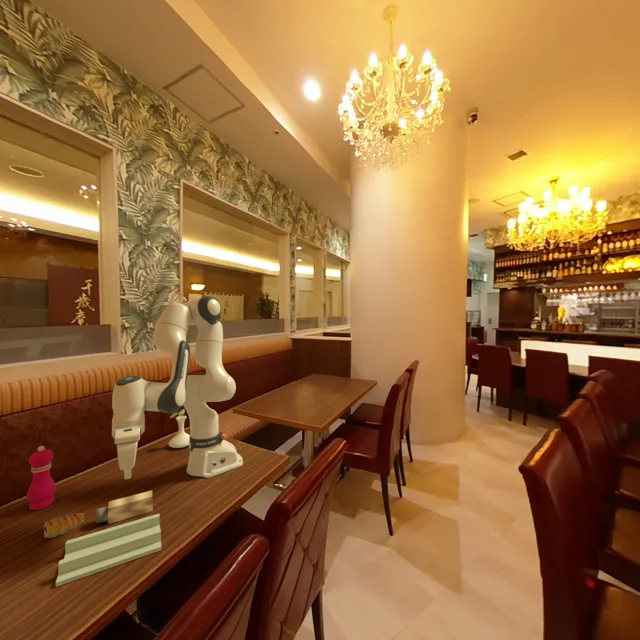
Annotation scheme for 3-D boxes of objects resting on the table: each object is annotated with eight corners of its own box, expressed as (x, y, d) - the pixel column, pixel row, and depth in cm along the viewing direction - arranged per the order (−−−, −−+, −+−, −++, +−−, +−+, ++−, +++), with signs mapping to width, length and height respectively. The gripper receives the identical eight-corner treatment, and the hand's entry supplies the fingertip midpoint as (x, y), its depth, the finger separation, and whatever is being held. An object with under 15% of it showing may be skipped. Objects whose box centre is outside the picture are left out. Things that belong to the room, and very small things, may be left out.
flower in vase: (185, 438, 156) (185, 390, 156) (198, 443, 150) (198, 394, 149) (160, 447, 146) (160, 396, 145) (173, 453, 139) (172, 400, 139)
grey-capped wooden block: (152, 504, 102) (152, 490, 101) (152, 511, 98) (152, 496, 98) (97, 520, 94) (97, 504, 94) (95, 528, 90) (95, 511, 90)
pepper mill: (39, 498, 105) (38, 441, 105) (61, 497, 106) (60, 441, 105) (20, 512, 98) (19, 451, 97) (44, 510, 98) (43, 450, 98)
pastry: (81, 515, 96) (81, 504, 96) (87, 525, 92) (87, 512, 92) (41, 532, 89) (41, 519, 89) (46, 543, 85) (46, 529, 85)
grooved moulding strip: (159, 520, 94) (159, 508, 94) (161, 550, 82) (161, 537, 82) (68, 547, 83) (68, 534, 83) (55, 587, 71) (55, 572, 71)
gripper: (119, 420, 104) (119, 460, 104) (113, 440, 86) (113, 489, 86) (140, 417, 107) (140, 456, 107) (139, 436, 89) (139, 483, 89)
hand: (128, 471), depth 96 cm, fingers open, 8 cm apart
